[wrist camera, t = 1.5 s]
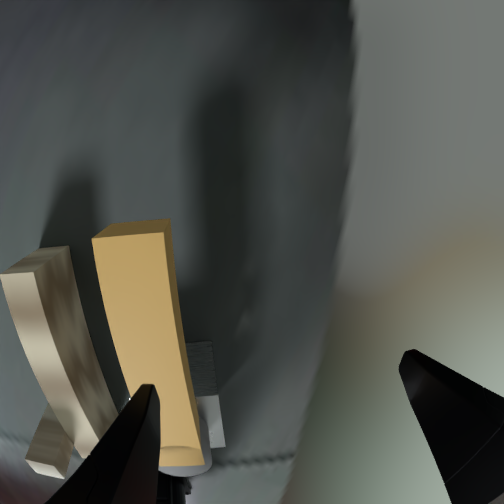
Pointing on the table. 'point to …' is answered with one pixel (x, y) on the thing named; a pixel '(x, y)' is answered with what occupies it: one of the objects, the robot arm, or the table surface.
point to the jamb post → (205, 389)
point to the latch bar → (152, 334)
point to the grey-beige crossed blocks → (58, 358)
